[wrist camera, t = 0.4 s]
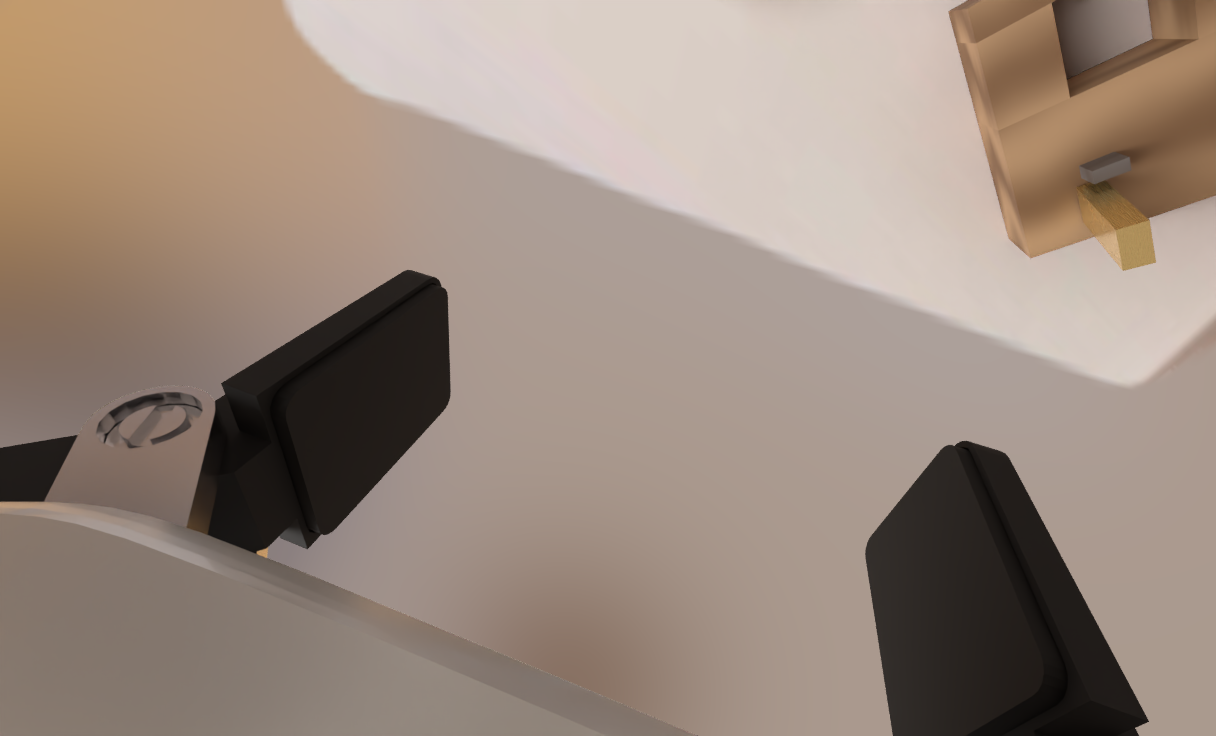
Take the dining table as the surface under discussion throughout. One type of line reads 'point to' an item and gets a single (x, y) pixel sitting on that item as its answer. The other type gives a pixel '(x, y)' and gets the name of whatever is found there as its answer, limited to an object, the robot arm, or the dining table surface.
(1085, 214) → the bar
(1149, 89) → the block
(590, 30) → the dining table surface
